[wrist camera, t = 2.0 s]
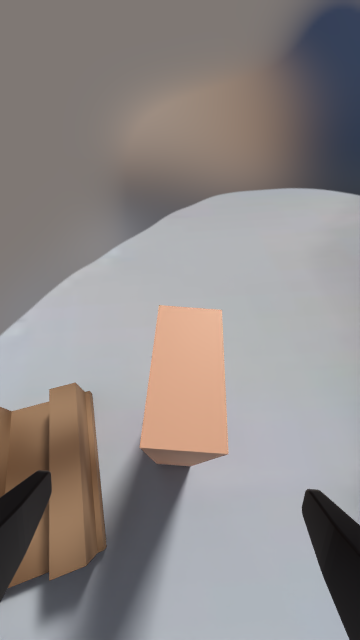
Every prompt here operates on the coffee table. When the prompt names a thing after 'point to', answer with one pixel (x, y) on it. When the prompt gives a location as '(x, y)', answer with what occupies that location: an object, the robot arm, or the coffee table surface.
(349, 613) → the robot arm
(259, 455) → the coffee table surface
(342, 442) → the coffee table surface
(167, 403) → the peach rectangular block
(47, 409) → the rack
